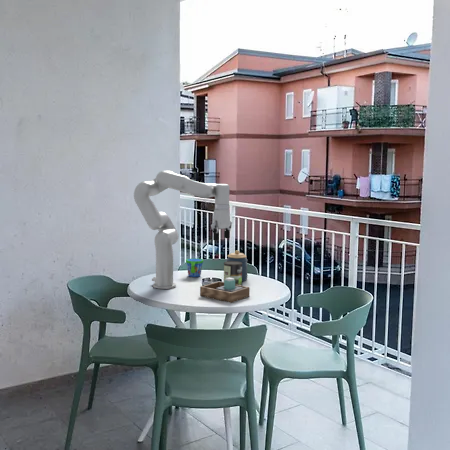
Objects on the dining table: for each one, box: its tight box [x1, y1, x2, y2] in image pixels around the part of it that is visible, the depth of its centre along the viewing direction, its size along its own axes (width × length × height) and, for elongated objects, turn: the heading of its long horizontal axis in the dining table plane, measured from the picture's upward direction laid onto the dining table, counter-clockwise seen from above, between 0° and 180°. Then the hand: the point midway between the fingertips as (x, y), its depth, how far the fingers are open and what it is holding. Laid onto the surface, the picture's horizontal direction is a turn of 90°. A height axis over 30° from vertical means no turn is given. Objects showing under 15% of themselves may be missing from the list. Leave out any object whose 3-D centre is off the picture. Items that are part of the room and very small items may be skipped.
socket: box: [216, 286, 243, 292], centre depth 264 cm, size 10×10×4 cm
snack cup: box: [185, 257, 204, 278], centre depth 311 cm, size 16×10×10 cm
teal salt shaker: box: [223, 277, 235, 290], centre depth 264 cm, size 4×4×9 cm
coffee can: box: [223, 261, 243, 286], centre depth 284 cm, size 10×10×14 cm
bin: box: [199, 281, 250, 304], centre depth 266 cm, size 20×16×5 cm
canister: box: [225, 249, 249, 282], centre depth 304 cm, size 13×13×18 cm
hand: (221, 239), depth 273 cm, fingers open, 9 cm apart
